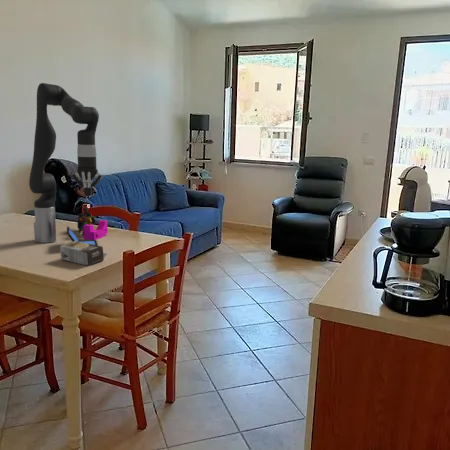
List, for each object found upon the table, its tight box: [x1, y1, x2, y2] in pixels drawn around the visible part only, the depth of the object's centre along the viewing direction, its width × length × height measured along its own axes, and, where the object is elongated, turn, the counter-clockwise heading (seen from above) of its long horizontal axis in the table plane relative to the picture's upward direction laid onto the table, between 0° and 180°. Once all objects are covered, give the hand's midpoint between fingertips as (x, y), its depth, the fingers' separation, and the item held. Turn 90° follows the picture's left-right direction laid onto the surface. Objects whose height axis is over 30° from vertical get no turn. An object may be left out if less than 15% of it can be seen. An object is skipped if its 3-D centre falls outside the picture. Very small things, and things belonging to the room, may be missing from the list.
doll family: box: [76, 206, 98, 238], centre depth 236 cm, size 23×9×13 cm, turn 35°
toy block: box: [83, 219, 108, 240], centre depth 230 cm, size 15×6×8 cm, turn 160°
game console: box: [66, 226, 99, 246], centre depth 211 cm, size 16×14×9 cm
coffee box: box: [59, 241, 105, 267], centre depth 187 cm, size 9×6×16 cm
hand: (88, 196), depth 188 cm, fingers closed
